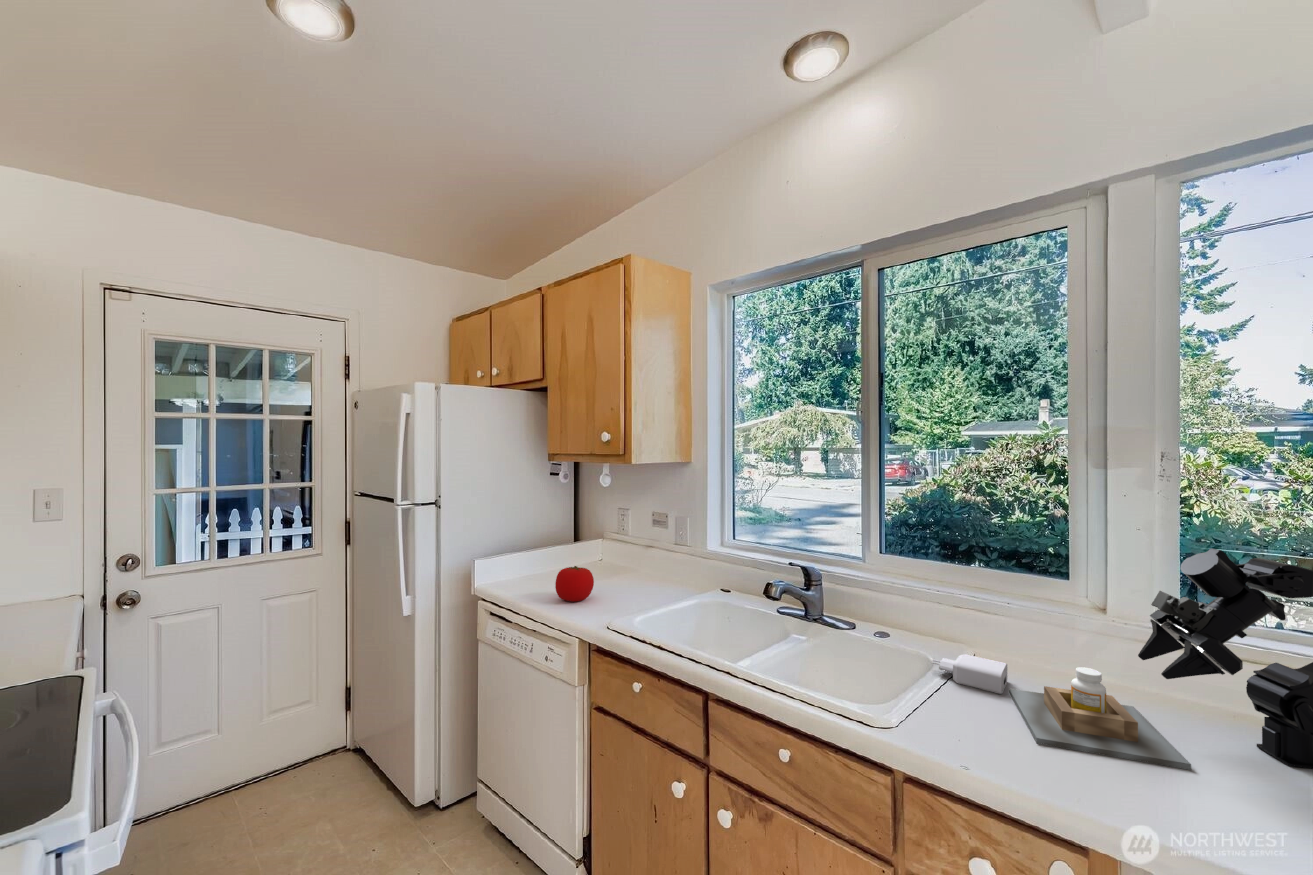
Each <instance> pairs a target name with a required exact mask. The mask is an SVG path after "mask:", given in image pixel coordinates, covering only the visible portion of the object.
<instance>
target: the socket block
mask: <svg viewBox="0 0 1313 875" xmlns="http://www.w3.org/2000/svg"><path fill="white" fill-rule="evenodd" d="M1008 694H1009V696H1010V698H1011V699H1012V701H1013V703H1014V706H1015V707H1016V709H1017V711H1018V712H1019V714H1020V715H1021V717H1022V720H1023V721H1024V723H1025V725H1026V727H1027V729H1028V730H1029V732H1030V734H1031V736H1032V738H1033V739H1034V741H1035V743H1036V744H1037V745H1038V744H1039V745H1045V746H1050V747H1055V748H1056V747H1057V748H1061V749H1066V750H1074V751H1078V752H1083V753H1084V752H1085V753H1090V754H1091V753H1092V754H1097V755H1100V756H1101V755H1103V756H1108V757H1113V758H1114V757H1115V758H1118V759H1125V760H1130V761H1136V762H1143V763H1148V764H1154V765H1161V766H1166V767H1171V768H1177V769H1183V770H1189V771H1191V770H1192V764H1191V763H1190V761H1189V760H1188V759H1187V758H1186V757H1185V756H1183V755H1182V753H1180V751H1179V750H1177V748H1175V746H1174V745H1173V744H1171V742H1170V741H1169V740H1168V739H1166V737H1164V735H1163V734H1162V733H1160V731H1158V730H1157V728H1155V726H1153V724H1152V723H1151V722H1149V720H1148V719H1147V718H1145V716H1144V715H1143V714H1141V712H1139V710H1138V709H1137V708H1136V707H1135V706H1133V705H1125V704H1121V703H1120V702H1119V701H1118V700H1117V699H1116V698H1115V697H1114V696H1113V695H1110V694H1106V713H1100V712H1093V711H1086V710H1080V709H1073V708H1071V689H1067V688H1060V687H1053V686H1045V685H1043V693H1042V692H1036V691H1029V690H1023V689H1015V688H1008Z"/></svg>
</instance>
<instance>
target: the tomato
mask: <svg viewBox="0 0 1313 875" xmlns="http://www.w3.org/2000/svg"><path fill="white" fill-rule="evenodd" d="M578 566H579V565H574V566H569V567H568V566H567V567H565V568H562V569H560V570H559V572H558V573H557V575H556V577H555V584H554V585H555V586H554V587H555V588H554V589H555V591H556V594H557V596H558V598H560V599H561V600H562V601H567V602H571V603H572V602H573V603H574V602H580V601H581V602H582V601H584V600H586V599H587V598H588V597H589V596H590V595H591V594H592V592H593V588H594V584H595V580H594V576H593V572H591V570H590V569H589V568H586V567H578Z"/></svg>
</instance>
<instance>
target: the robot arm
mask: <svg viewBox="0 0 1313 875" xmlns="http://www.w3.org/2000/svg"><path fill="white" fill-rule="evenodd" d="M1180 571H1181V572H1182V573H1183V574H1184V575H1185V576H1186V577H1188V579H1189V580H1190V581H1192V583H1194V584H1195V585H1196V586H1197V587H1198V588H1199V589H1201V591H1202V592H1203V593H1205V594H1206V595H1207V596H1209V597H1212V598H1215V599H1213V600H1212V601H1210V602H1209V603H1205V602H1203V601H1201V602H1200V601H1198V602H1197V601H1196V600H1193V599H1190V598H1188V597H1187V596H1183V597H1181V598H1178V597H1175V596H1173V595H1171V594H1168V593H1166V592H1164V591H1163V590H1159V591H1158V593H1157V595H1156V596H1155V598H1154V599H1153V601H1152V602H1151V603H1150V604H1151V606H1153V607H1156V608H1157V610H1155V611H1153V612H1152V613H1151V614H1150V615H1149V616H1150V618H1151V619H1150V620H1149V622H1150V623H1151V628H1152V633H1151V634H1150V636H1149V638H1148V639H1147V641H1146V642H1145V644H1144V646H1142V648H1141V650H1140V651H1139V652H1138V655H1137V657H1138V658H1139V659H1141V660H1142V661H1146V660H1150V659H1153V658H1157V657H1160V656H1164V655H1166V654H1167V655H1168V654H1170V653H1172V652H1176V651H1180V650H1182V649H1184V650H1183V653H1182V654H1180V655H1179V656H1178V657H1177V658H1176V659H1175V660H1173V662H1172V663H1170V664H1169V665H1168V666H1166V668H1164V670H1163V671H1162V672H1161V676H1162V677H1163V678H1164V679H1166V680H1172V679H1173V680H1174V679H1178V678H1179V679H1181V678H1187V677H1196V676H1205V675H1206V676H1207V675H1209V676H1210V675H1216V674H1217V675H1218V674H1219V675H1222V676H1223V675H1225V674H1226V673H1228V674H1230V675H1231V676H1234V675H1235V674H1237V673H1239V672H1240V671H1241V670H1243V664H1244V663H1243V660H1242V659H1241V658H1240V657H1239V656H1238V655H1237V654H1235V653H1234V652H1233V651H1232V650H1230V648H1228V647H1227V646H1226V645H1225V644H1226V643H1227V642H1228V641H1231V639H1233V638H1234V637H1238V638H1239V639H1244V638H1245V637H1247V636H1248V634H1247V633H1246V632H1245V630H1247V629H1248V628H1249V627H1250V626H1253V625H1254V624H1255V623H1257V622H1258V621H1260V620H1261V619H1263V618H1264V617H1266V616H1268V615H1270V616H1272V617H1274V618H1276V619H1278V620H1280V621H1286V620H1287V618H1286V613H1285V604H1284V603H1282V602H1280V601H1278V600H1277V599H1271V598H1269V597H1268V596H1267V595H1266V594H1265V593H1268V594H1272V595H1274V596H1280V597H1283V598H1287V599H1305V598H1306V599H1307V598H1312V597H1313V569H1310V568H1305V567H1303V566H1299V565H1296V564H1295V565H1293V564H1289V563H1285V562H1281V561H1275V560H1271V559H1267V558H1266V559H1265V558H1260V557H1256V558H1255V557H1254V558H1251V559H1249V560H1248V562H1246V563H1239V564H1236V563H1235V562H1234V561H1232V560H1231V559H1230V558H1229V556H1228V554H1226V552H1224V551H1223V550H1221V549H1217V548H1209V550H1207V551H1206V552H1200V553H1196V554H1193V555H1192V556H1190V557H1187V558H1186V559H1184V560H1183V561H1182V562H1181V564H1180ZM1253 673H1254V674H1253V675H1251V676H1250V677H1248V679H1247V680H1246V687H1245V689H1246V694H1247V697H1248V698H1249V699H1250V700H1251V703H1252V705H1253V707H1254V710H1255V711H1256V712H1258V713H1260V714H1261V713H1262V714H1263V715H1265V716H1264V717H1263V718H1264V720H1263V721H1264V725H1262V727H1261V728H1262V729H1261V743H1256V748H1259V750H1261V751H1263V752H1265V753H1267V754H1268V755H1269V756H1272V757H1273V758H1275V759H1276V760H1278V761H1280V762H1282V763H1284V764H1285V765H1286V766H1288V767H1293V768H1306V769H1313V661H1312V662H1311V663H1308V664H1306V665H1304V666H1301V667H1297V668H1293V667H1289V666H1286V665H1284V664H1282V663H1279V662H1273V663H1270V664H1268V665H1267V666H1265V667H1264V668H1261V669H1259V670H1256V669H1255V670H1253Z"/></svg>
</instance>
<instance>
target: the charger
mask: <svg viewBox="0 0 1313 875" xmlns="http://www.w3.org/2000/svg"><path fill="white" fill-rule="evenodd" d="M955 659H956V660H954V659H950V658H946V657H942V659H940V660H938V659H932V661H931V664H933V665H937V666H938V669H939V670H940V671H942V670H945V671H944V672H946V671H948V672H947V673H950V672H951V674H952V680H953V681H954V682H955V683H957V684H960V685H962V686H966V687H971V688H974V689H978V690H983V691H985V692H986V691H987V692H990V693H993V694H998V695H1002V694H1003V693H1004V691H1005V688H1006V686H1007V684H1008V663H1005V662H1001V661H997V660H992V659H988V658H984V657H980V656H975V655H969V654H966V653H965V654H960V655H958V656H957V658H955Z"/></svg>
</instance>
